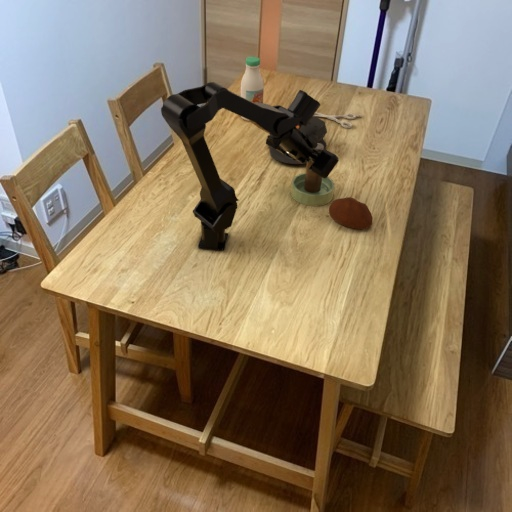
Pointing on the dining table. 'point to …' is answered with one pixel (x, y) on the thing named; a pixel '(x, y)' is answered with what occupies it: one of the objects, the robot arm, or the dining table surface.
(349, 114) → the scissors
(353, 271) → the dining table surface
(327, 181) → the green round dish
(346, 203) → the potato
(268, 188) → the dining table surface
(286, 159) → the casserole
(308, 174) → the pepper mill
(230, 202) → the robot arm
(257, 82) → the milk bottle
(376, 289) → the dining table surface
